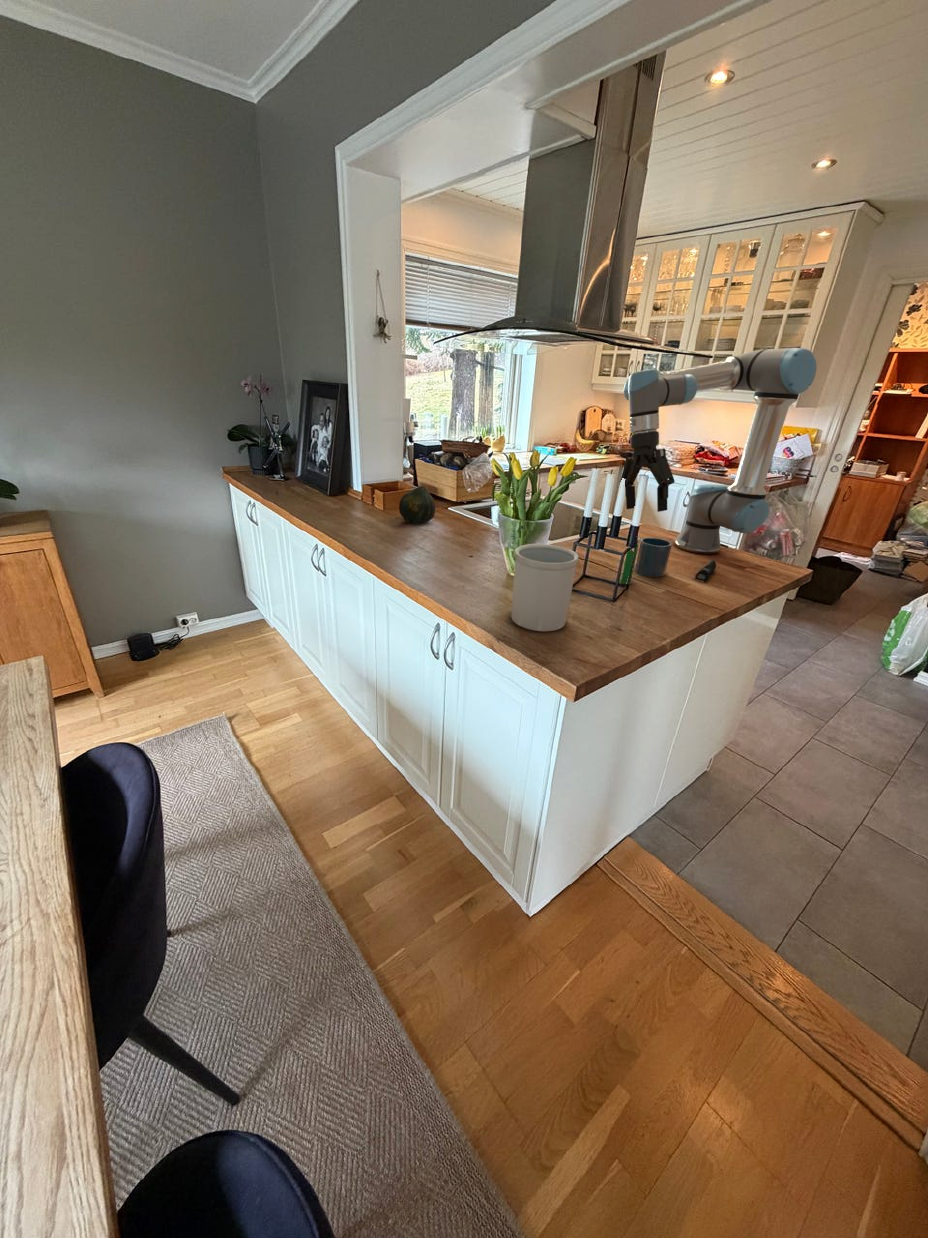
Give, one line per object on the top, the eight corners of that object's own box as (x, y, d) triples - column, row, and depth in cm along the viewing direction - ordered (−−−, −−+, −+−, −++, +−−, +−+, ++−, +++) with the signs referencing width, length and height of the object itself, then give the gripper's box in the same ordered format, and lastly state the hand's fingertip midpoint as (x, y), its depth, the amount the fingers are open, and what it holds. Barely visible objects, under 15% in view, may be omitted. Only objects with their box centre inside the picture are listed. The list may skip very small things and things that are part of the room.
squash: (386, 509, 193) (410, 482, 186) (402, 503, 206) (424, 478, 199) (411, 535, 194) (435, 510, 187) (425, 527, 207) (448, 504, 200)
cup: (663, 569, 158) (670, 539, 153) (665, 578, 150) (672, 547, 146) (635, 565, 160) (641, 536, 156) (634, 574, 152) (641, 544, 148)
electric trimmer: (718, 570, 160) (720, 561, 158) (706, 582, 148) (709, 573, 147) (705, 567, 162) (708, 558, 160) (693, 579, 150) (696, 570, 149)
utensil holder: (526, 601, 131) (532, 539, 123) (578, 617, 123) (588, 551, 115) (498, 621, 120) (503, 553, 112) (553, 639, 112) (562, 568, 104)
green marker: (630, 581, 147) (640, 537, 141) (630, 585, 144) (640, 539, 138) (620, 580, 148) (629, 535, 141) (620, 583, 145) (629, 538, 139)
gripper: (606, 437, 144) (609, 509, 151) (665, 429, 122) (665, 514, 128) (627, 434, 146) (629, 505, 153) (689, 425, 124) (688, 509, 130)
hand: (646, 509), depth 141 cm, fingers open, 13 cm apart
